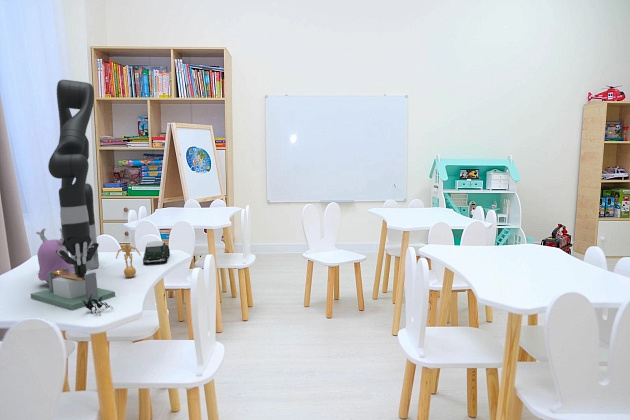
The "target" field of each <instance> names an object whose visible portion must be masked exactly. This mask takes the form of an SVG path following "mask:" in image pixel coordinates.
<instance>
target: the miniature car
mask: <svg viewBox="0 0 630 420" xmlns="http://www.w3.org/2000/svg"><path fill="white" fill-rule="evenodd" d="M170 251H171V250H170V248H169V245H167V244H166V243H165V241H160V240H159V241H158V240H155V241H148V243H147V244H146V245H145V250H144V253H143V258H142V264H143V266H145V264H146V265H148V263H149V264H150V263H152V262H160V263H161V262H162V263H163V264H167V263H168V257H170V256H171V255H170V254H171V253H170Z"/></svg>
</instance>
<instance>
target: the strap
mask: <svg viewBox="0 0 630 420" xmlns="http://www.w3.org/2000/svg"><path fill="white" fill-rule="evenodd" d="M53 274H54V277H57V276H60V277H65V278H71V279H76V280H82V281H83V280H85V278H84V276H82V277H78V276H77V275H75V272H74V273H72V272H66V271H64V270H63V269H62V270H58V271H54V272H53Z"/></svg>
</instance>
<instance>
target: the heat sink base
mask: <svg viewBox="0 0 630 420" xmlns="http://www.w3.org/2000/svg"><path fill="white" fill-rule="evenodd" d="M63 270H64V271H66V272H69V268H63ZM47 274H48V283H49V284H48V283H47V284H48V288H46V289H44V290H39V291H36V292H32V293H30V300H31V299H32V300H36V301H40V302H42V303H46V304H50V305H53V306H57V307H60V308H62V309H67V310H71V311H74V310H77V309H81V308H84V307H85V304H84V302H83V301H85V302H86V304H87V303H88V300H89V298H90V296H91V299H95V300H99V299H100V298H101V297H102V296H103V297H102V299H101V302H102V301H104V300H105V301H106V300H108V299H111V298H114V297H116V291H114V290H109V289H106V288H100V287H98V283H97V281H98V280H97V273H96V272H94V271H92V272H89V273H86V274H85V275H84V278H85V280H83V281H82V280H76V279H71V278H65V277H59V278H55V279H54V274H53V272H51V271H50V272H47ZM91 299H90V300H91ZM82 300H83V301H82ZM91 302H92V304H93V305H94V303H95V302H94V301H91ZM97 302H98V303H100V301H97Z"/></svg>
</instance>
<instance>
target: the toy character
mask: <svg viewBox="0 0 630 420" xmlns="http://www.w3.org/2000/svg"><path fill="white" fill-rule="evenodd" d="M46 230H47V229H46V228H44V227H43V228H42V229H41V231H36V232H35V234H37V235H39V238H40V240H41V241H42V243H40V245H39V248H38V251H37V260H38V261H37V262H38V266H39V267H38V268H39V270H38V273H37V276H38V277H37V278H38V279H39V281H44V282H46V283H47V284H48V285H49V283H48V274H47V272H50V271H51V272H54V271H58V270H62V269H63V268H69V272H72V273H75V270H73V268H72V264H67V263H66V262H65V261H64V260H63V259H62V258H61V257H60V256H59V255H58V254H57V253H56V251H57V250H60V248H61V247H62V246H63V241H64V239H63V236H62V227H59V231H60V233H61V234H60V236H61V237H60V238H59V239H48V238H47V237H46V236H45V231H46ZM66 251H67V250H66ZM67 254H68V255H69V256H70V253H69V252H68V251H67ZM59 277H60V276H57V277H54V279H55V278H59Z"/></svg>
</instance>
